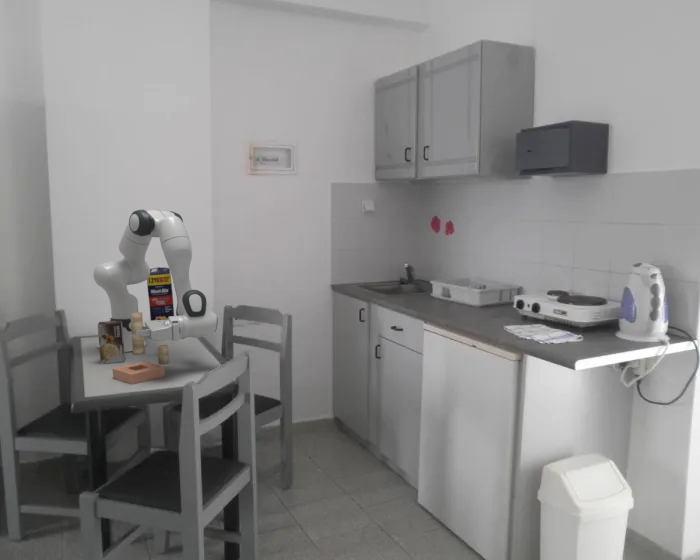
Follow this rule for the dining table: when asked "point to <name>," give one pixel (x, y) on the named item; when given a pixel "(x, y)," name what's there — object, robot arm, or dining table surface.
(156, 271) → the cereal box
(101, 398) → the dining table surface
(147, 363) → the hole block
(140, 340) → the tall pin
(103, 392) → the dining table surface
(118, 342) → the food box
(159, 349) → the short pin
